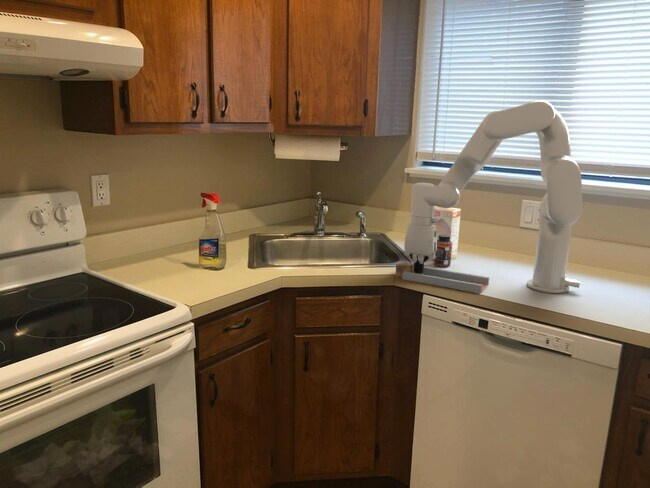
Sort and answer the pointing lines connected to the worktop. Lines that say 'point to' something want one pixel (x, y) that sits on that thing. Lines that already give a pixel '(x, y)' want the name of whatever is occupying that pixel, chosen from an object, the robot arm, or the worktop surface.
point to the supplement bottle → (443, 251)
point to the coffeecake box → (448, 225)
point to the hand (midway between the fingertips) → (418, 273)
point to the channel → (449, 279)
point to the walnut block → (404, 268)
